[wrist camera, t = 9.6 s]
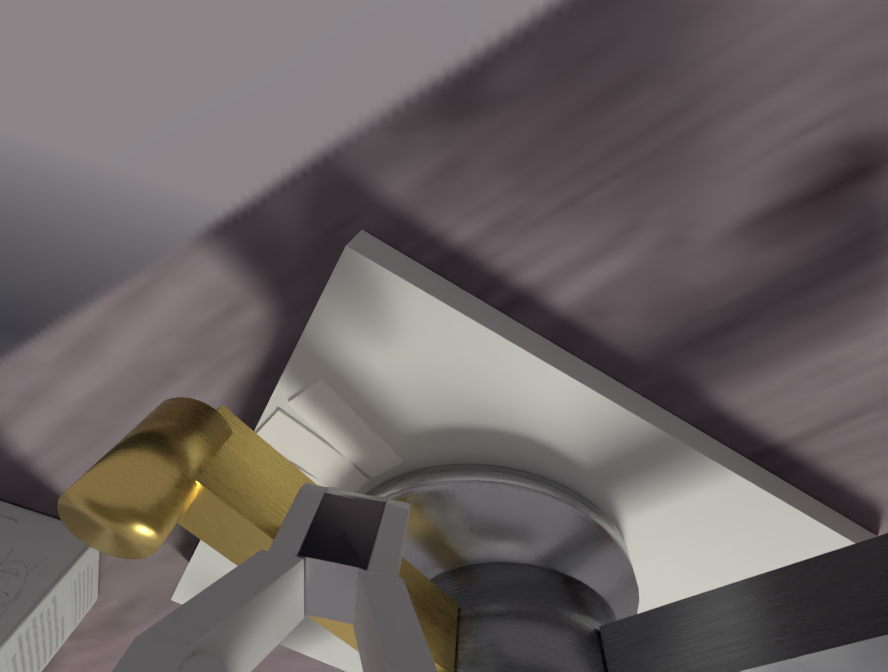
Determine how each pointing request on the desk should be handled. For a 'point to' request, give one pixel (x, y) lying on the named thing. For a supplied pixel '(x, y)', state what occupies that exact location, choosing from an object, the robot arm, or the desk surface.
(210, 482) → the capstan
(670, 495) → the stand
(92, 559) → the small box
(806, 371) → the desk surface
